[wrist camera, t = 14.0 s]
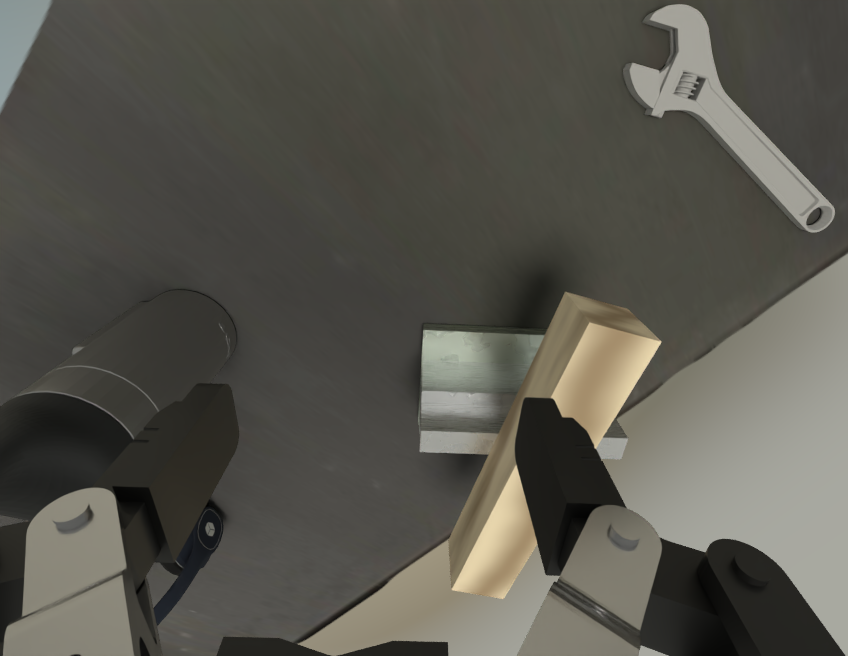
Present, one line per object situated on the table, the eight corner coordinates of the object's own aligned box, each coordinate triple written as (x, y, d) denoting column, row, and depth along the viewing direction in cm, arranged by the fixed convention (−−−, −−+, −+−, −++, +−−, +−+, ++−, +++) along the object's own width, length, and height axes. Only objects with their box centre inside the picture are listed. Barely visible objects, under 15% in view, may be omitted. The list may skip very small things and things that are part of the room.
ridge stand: (418, 415, 50) (417, 490, 40) (423, 323, 44) (424, 384, 34) (571, 421, 50) (607, 497, 40) (595, 331, 45) (644, 393, 35)
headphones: (209, 486, 55) (119, 645, 38) (239, 520, 58) (167, 682, 41) (85, 525, 58) (-47, 687, 42) (119, 556, 61) (8, 719, 45)
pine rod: (448, 540, 43) (451, 589, 39) (565, 291, 31) (589, 322, 26) (495, 549, 44) (503, 598, 39) (627, 308, 31) (661, 341, 27)
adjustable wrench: (827, 211, 40) (844, 215, 38) (763, 261, 42) (776, 267, 40) (670, -9, 32) (683, -15, 30) (602, 67, 34) (611, 65, 33)
